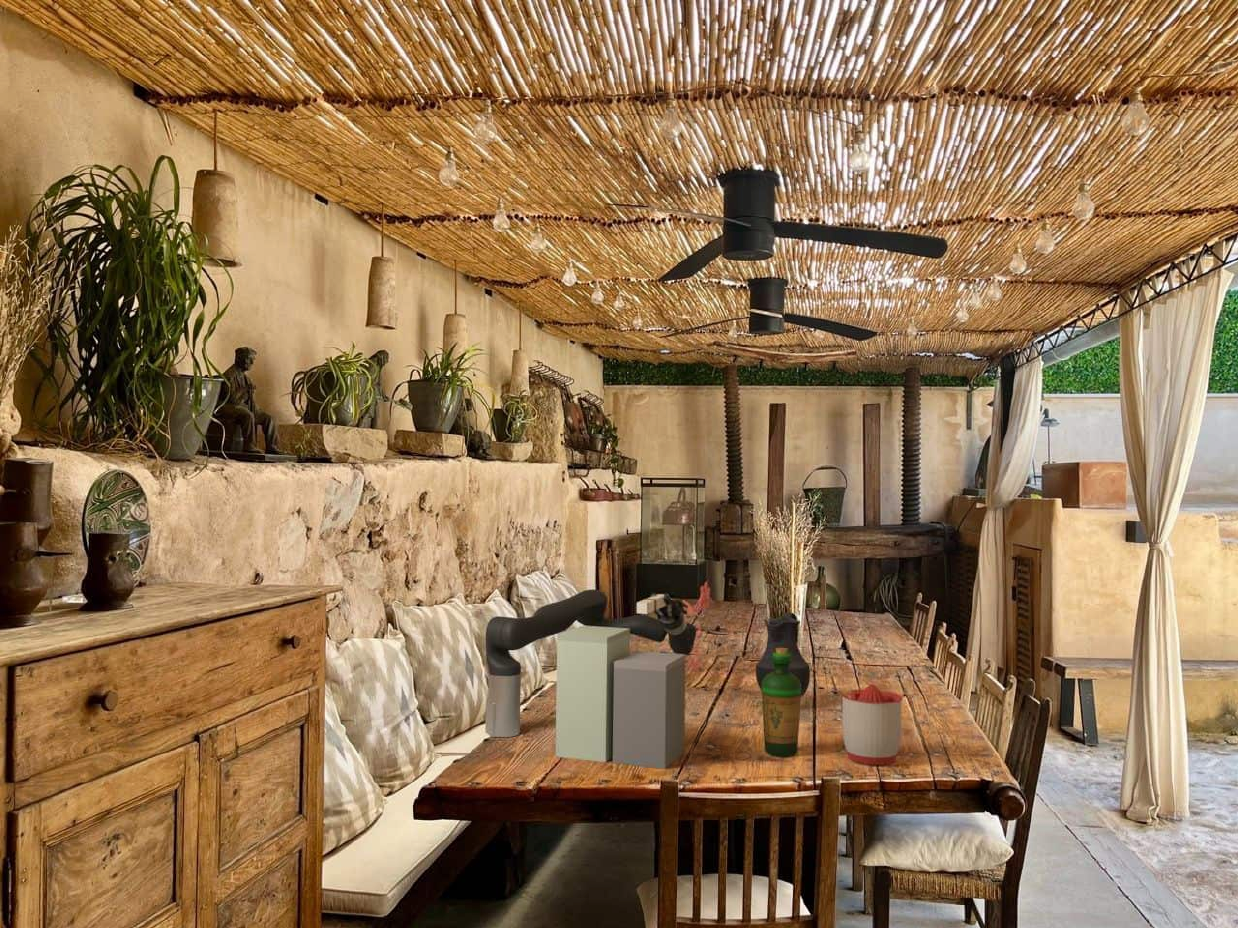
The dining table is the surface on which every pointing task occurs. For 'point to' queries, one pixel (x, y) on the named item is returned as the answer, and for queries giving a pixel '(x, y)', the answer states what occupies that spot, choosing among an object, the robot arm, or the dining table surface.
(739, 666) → the dining table surface
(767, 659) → the pitcher
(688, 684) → the dining table surface
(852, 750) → the citrus juicer
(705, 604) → the pink translucent sprig
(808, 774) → the dining table surface
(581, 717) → the sage green tall pillar
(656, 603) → the pale wooden bar
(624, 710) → the block
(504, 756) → the dining table surface
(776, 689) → the bottle
